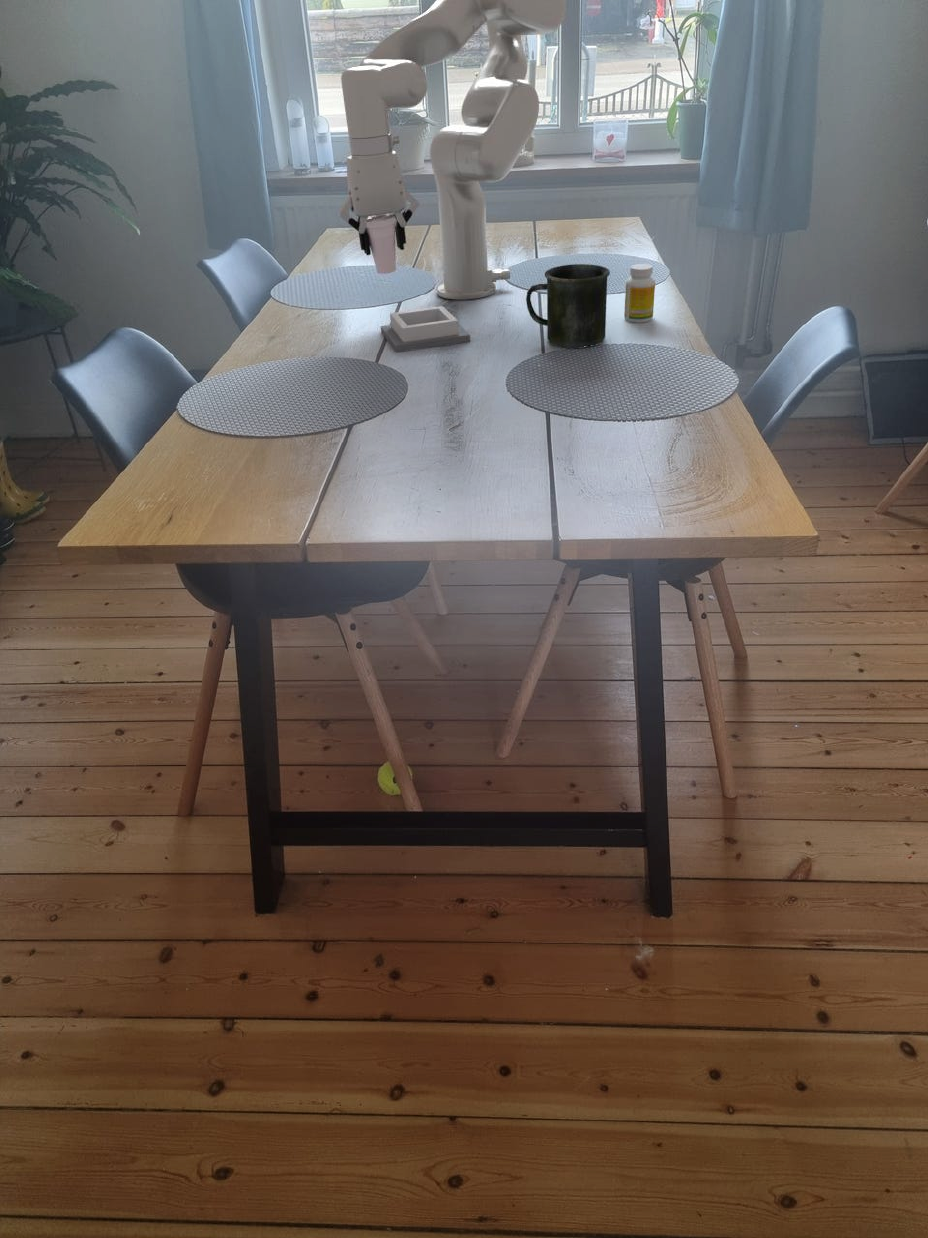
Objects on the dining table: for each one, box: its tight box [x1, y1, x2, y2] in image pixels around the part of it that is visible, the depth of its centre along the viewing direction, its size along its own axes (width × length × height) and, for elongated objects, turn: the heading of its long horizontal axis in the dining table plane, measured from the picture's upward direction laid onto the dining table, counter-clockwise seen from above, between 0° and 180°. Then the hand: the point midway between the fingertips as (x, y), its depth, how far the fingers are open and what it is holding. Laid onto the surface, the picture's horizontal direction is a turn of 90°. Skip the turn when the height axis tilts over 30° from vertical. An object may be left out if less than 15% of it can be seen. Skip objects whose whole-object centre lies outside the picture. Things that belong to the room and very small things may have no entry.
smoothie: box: [365, 213, 397, 275], centre depth 171 cm, size 6×6×14 cm
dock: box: [380, 305, 471, 353], centre depth 169 cm, size 14×13×4 cm
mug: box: [525, 263, 611, 349], centre depth 160 cm, size 11×15×12 cm
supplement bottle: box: [623, 263, 656, 324], centre depth 169 cm, size 5×5×10 cm
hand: (384, 249), depth 173 cm, fingers closed on smoothie, 5 cm apart
